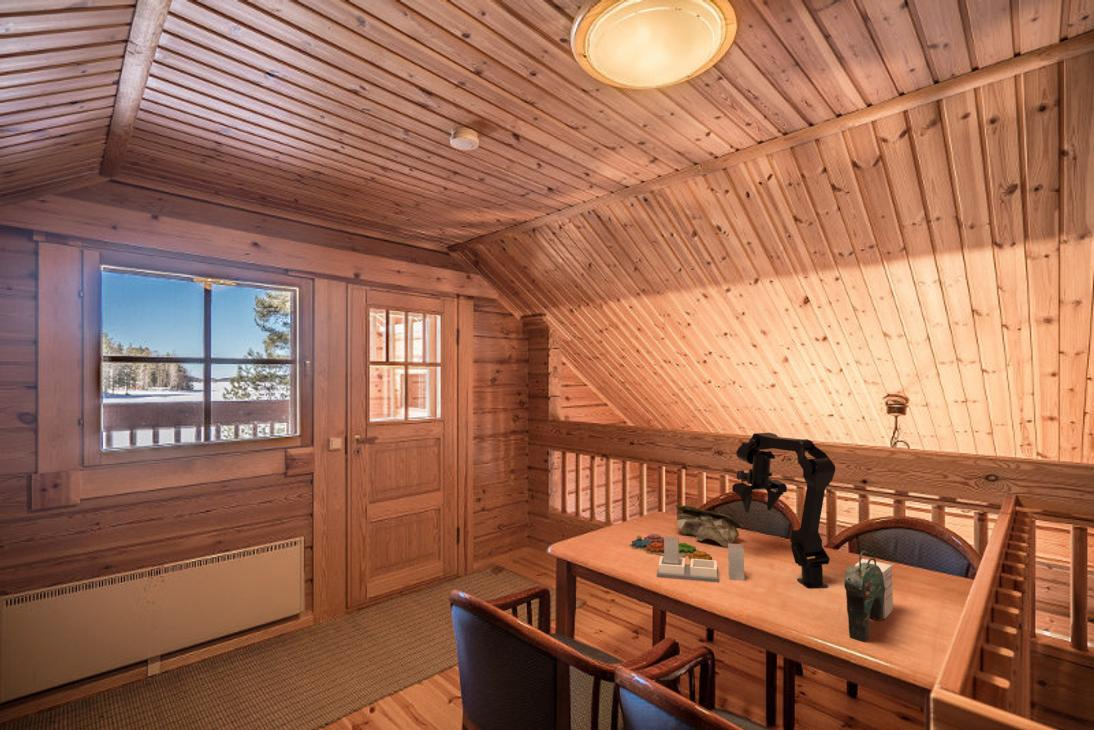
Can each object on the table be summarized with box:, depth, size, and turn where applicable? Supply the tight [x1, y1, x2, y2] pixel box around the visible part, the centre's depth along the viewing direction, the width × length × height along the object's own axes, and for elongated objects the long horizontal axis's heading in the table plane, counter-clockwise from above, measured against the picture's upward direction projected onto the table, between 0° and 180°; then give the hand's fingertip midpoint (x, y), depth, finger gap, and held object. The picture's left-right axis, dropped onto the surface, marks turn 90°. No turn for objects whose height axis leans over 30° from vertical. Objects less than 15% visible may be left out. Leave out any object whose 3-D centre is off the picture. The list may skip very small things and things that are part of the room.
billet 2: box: [727, 543, 745, 582], centre depth 171 cm, size 4×4×10 cm
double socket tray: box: [656, 556, 720, 583], centre depth 175 cm, size 19×11×4 cm, turn 73°
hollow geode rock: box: [675, 504, 744, 549], centre depth 209 cm, size 28×13×15 cm
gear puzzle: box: [629, 533, 713, 560], centre depth 196 cm, size 31×16×4 cm, turn 39°
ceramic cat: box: [843, 550, 885, 643], centre depth 136 cm, size 20×6×20 cm, turn 134°
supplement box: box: [854, 558, 894, 620], centre depth 145 cm, size 7×7×13 cm
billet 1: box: [664, 535, 680, 565], centre depth 177 cm, size 4×4×10 cm
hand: (757, 511), depth 188 cm, fingers open, 9 cm apart
